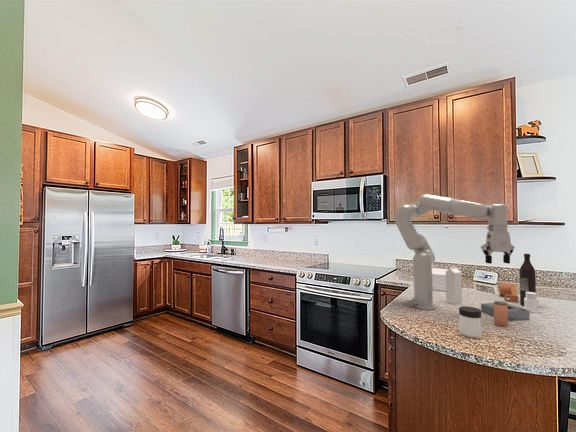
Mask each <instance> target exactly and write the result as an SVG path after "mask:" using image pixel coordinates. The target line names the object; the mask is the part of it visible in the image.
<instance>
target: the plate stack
mask: <svg viewBox="0 0 576 432" xmlns="http://www.w3.org/2000/svg"><path fill="white" fill-rule="evenodd" d="M447 270H450V268H449V269H448V268H437V267H432V286H433V291H443V292H444V291H445V292H446V271H447Z"/></svg>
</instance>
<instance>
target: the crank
mask: <svg viewBox="0 0 576 432" xmlns="http://www.w3.org/2000/svg"><path fill="white" fill-rule="evenodd" d="M498 289H499V292H498V293H499V296H503V299H504V301H505V302H507V303H508V302H509V303H510V302H511V303H517V304H518V303H519V295H518V292H517V288H516V285H515V284H513V283H503V282H502V283H501V282H499V283H498ZM508 298H509V299H508Z"/></svg>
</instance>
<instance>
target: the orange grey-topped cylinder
mask: <svg viewBox="0 0 576 432" xmlns="http://www.w3.org/2000/svg"><path fill="white" fill-rule="evenodd" d="M493 303H494V317H493V320H494V321H493V322H494V323H493V324H494V325H495V326H498V327H502V328H504V327H505V328H507V327H509V323H508V322H509V321H508V308H507V304H508V302H506V301H505V302H504V301H501V300H500V301H499V300H497V301H496V300H495V301H494V302H493Z"/></svg>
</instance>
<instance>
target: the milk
mask: <svg viewBox="0 0 576 432" xmlns="http://www.w3.org/2000/svg"><path fill="white" fill-rule="evenodd" d="M462 277H463V276H462V271H461V270H459V269H458V266H457V265H455V266H449V270H447V271H446V291H445V302H446V303H449V304H453V305H460V304H463V295H462V293H463V292H462V291H463V290H462V287H463V286H462V285H463V283H462Z"/></svg>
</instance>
